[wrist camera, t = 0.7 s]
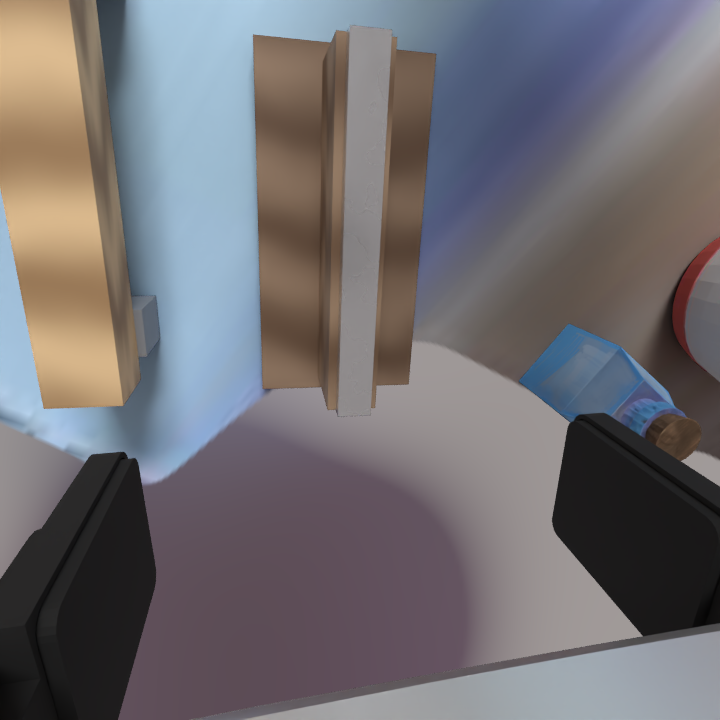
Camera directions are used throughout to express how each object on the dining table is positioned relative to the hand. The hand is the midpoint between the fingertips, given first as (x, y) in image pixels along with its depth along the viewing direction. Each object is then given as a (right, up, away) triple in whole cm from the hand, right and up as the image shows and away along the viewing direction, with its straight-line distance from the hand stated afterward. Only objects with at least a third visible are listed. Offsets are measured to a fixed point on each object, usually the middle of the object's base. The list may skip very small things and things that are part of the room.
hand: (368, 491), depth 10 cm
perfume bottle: (+17, +2, +31) cm, 35 cm away
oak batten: (-15, +14, +15) cm, 26 cm away
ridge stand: (-2, +12, +23) cm, 26 cm away
